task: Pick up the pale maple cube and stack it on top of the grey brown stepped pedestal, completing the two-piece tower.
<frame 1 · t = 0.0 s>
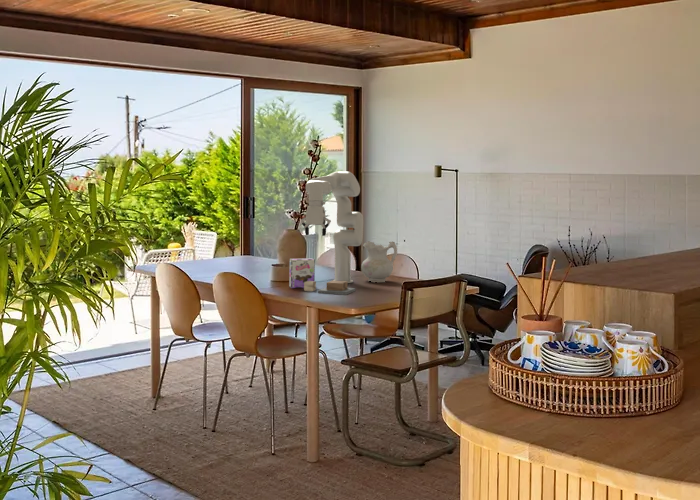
hand: (315, 235, 458), 31 cm above the table, tool pointing down, fingers open, 9 cm apart
maple cube: (310, 290, 467), on the table
ceramic pitcher: (379, 281, 510), on the table
grey brown stepped pedestal: (337, 291, 462), on the table
candy box: (301, 287, 480), on the table
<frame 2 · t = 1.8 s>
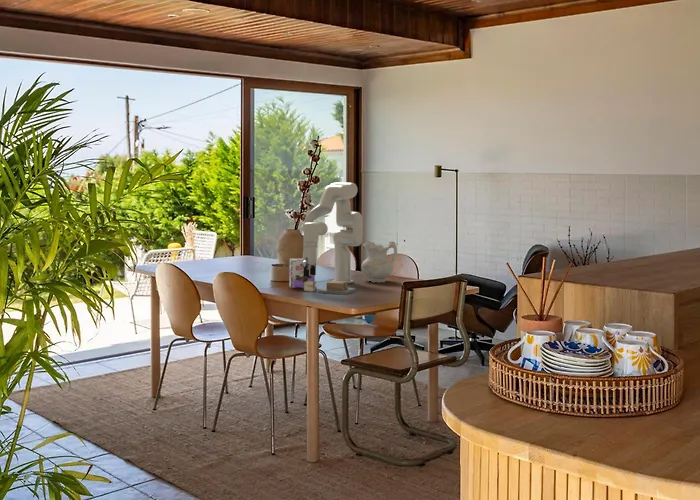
hand: (309, 275, 466), 8 cm above the table, tool pointing down, fingers open, 9 cm apart
nothing on the table moved.
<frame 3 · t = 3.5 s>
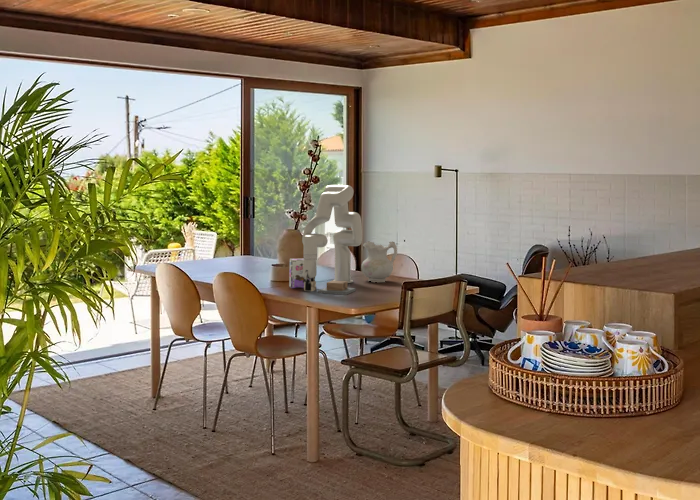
hand: (310, 289, 467), 0 cm above the table, tool pointing down, fingers closed on maple cube, 5 cm apart
maple cube: (310, 290, 467), on the table, touching gripper
everything else where it was.
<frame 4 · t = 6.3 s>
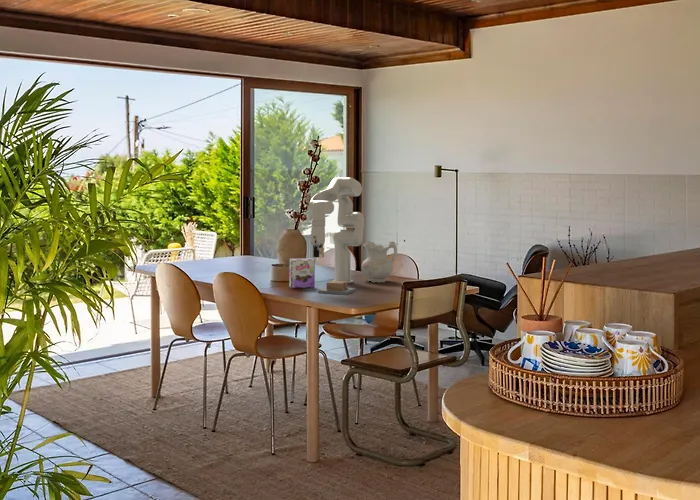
hand: (318, 256, 464), 19 cm above the table, tool pointing down, fingers closed on maple cube, 5 cm apart
maple cube: (318, 257, 464), point 19 cm above the table, touching gripper
everything else where it was.
when the fingers open (7 cm above the table, at t = 9.3 s): maple cube stays where it is, resting on grey brown stepped pedestal.
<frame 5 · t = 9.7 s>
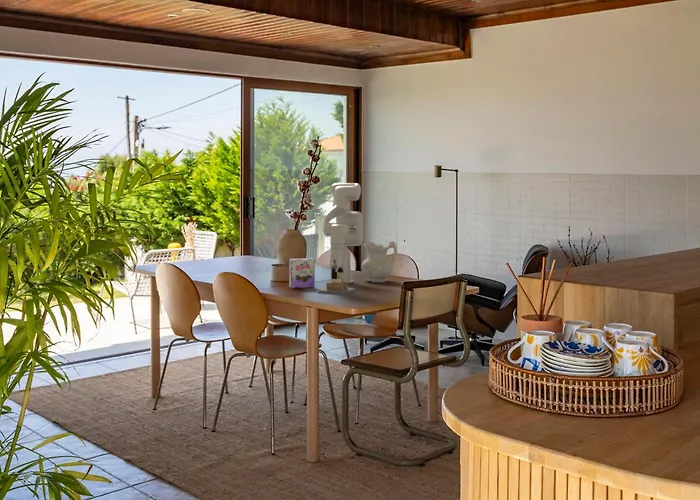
hand: (337, 277, 462), 8 cm above the table, tool pointing down, fingers open, 9 cm apart
maple cube: (337, 282, 462), point 5 cm above the table, touching grey brown stepped pedestal
everything else where it was.
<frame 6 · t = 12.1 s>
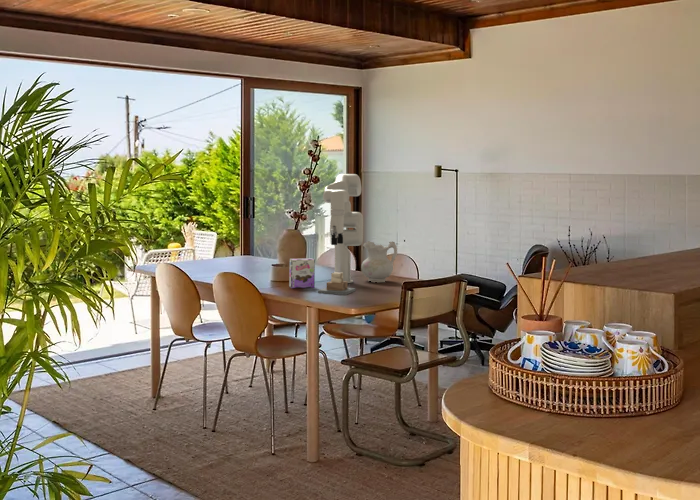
hand: (337, 244, 460), 26 cm above the table, tool pointing down, fingers open, 9 cm apart
nothing on the table moved.
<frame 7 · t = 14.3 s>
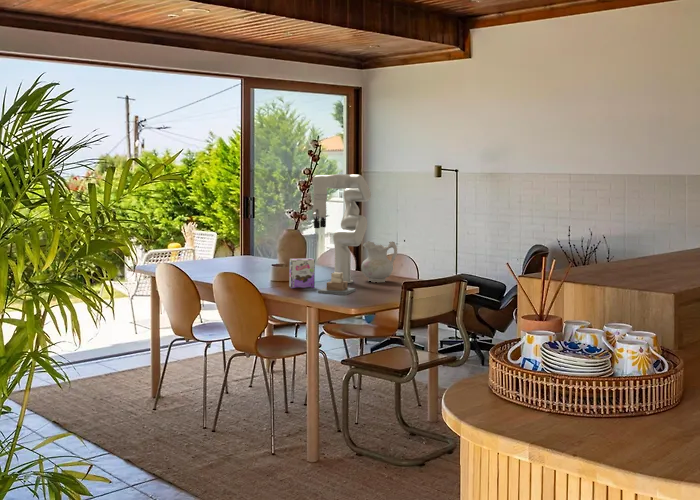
hand: (319, 227, 475), 34 cm above the table, tool pointing down, fingers open, 9 cm apart
nothing on the table moved.
at the end: maple cube 0.1 cm off-centre on the grey brown stepped pedestal, point 5.5 cm above the grey brown stepped pedestal's base; maple cube tilted 0°; the gripper is holding nothing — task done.
